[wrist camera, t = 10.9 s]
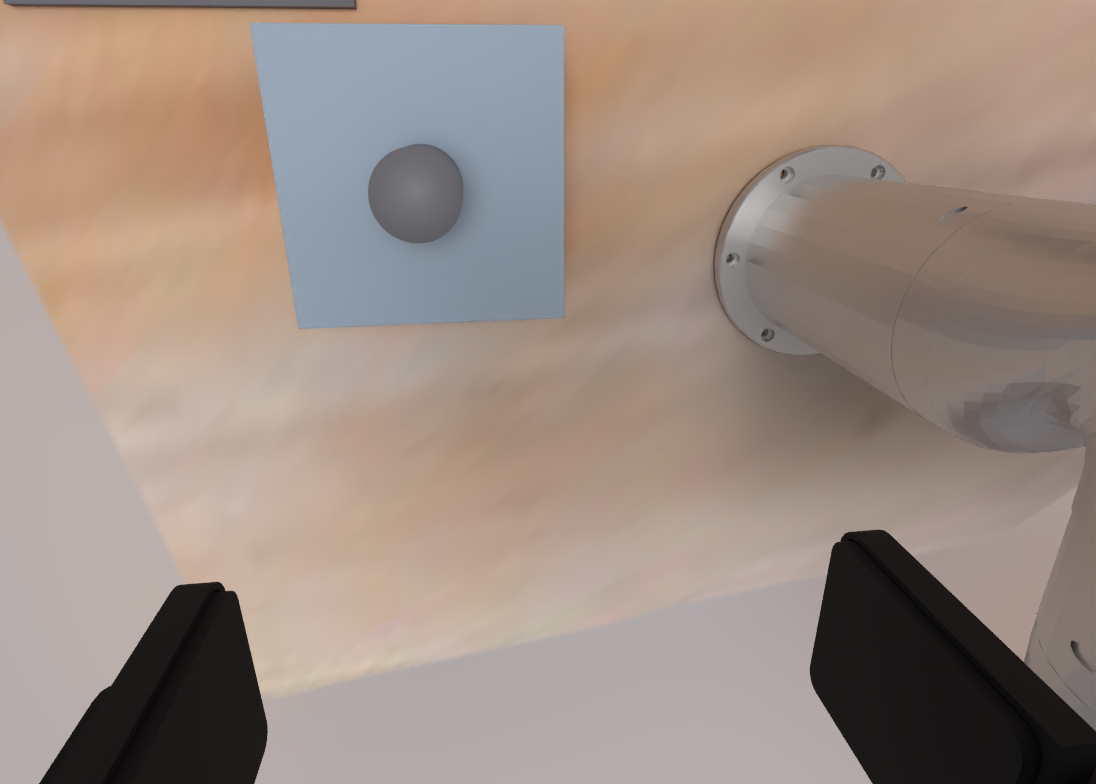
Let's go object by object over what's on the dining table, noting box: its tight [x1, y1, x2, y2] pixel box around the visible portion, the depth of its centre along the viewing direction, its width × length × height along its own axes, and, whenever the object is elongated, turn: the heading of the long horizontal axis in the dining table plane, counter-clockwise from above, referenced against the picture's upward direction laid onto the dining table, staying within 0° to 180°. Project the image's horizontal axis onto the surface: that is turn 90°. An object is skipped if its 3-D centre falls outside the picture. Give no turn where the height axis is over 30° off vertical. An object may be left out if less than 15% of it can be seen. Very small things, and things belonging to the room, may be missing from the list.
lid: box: [250, 23, 564, 329], centre depth 28 cm, size 13×13×6 cm
